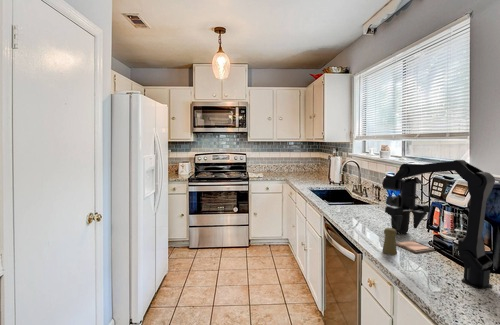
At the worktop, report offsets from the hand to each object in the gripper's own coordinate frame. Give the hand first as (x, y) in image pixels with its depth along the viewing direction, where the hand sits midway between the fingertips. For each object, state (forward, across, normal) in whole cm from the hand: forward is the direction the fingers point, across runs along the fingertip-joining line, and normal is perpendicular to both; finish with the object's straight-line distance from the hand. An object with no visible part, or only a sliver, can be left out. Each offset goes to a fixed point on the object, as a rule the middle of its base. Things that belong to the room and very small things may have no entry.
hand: (406, 229), depth 124 cm
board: (+13, -19, -9) cm, 25 cm away
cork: (+13, +1, -8) cm, 15 cm away
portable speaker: (+13, -26, -29) cm, 41 cm away
